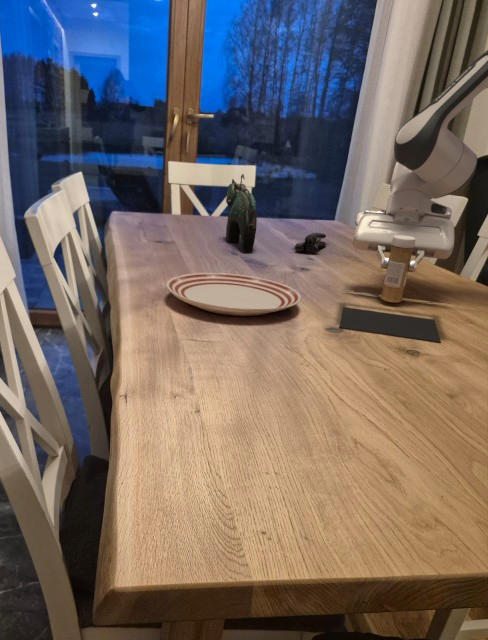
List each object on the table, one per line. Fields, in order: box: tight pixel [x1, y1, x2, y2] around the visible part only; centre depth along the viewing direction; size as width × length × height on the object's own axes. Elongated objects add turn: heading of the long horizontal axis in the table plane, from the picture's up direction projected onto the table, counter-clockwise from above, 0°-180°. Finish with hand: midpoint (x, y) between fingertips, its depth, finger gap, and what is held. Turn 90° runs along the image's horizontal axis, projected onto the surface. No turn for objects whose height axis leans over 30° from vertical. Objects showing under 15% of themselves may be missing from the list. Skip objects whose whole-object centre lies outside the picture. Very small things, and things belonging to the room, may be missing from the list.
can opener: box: [294, 231, 327, 254], centre depth 171 cm, size 18×7×6 cm, turn 148°
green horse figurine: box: [225, 173, 258, 254], centre depth 166 cm, size 20×6×20 cm, turn 11°
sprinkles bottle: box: [379, 235, 416, 303], centre depth 121 cm, size 5×5×13 cm
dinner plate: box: [165, 272, 302, 317], centre depth 117 cm, size 27×27×3 cm
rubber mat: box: [338, 306, 442, 344], centre depth 111 cm, size 18×14×1 cm
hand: (397, 268), depth 120 cm, fingers closed on sprinkles bottle, 4 cm apart
